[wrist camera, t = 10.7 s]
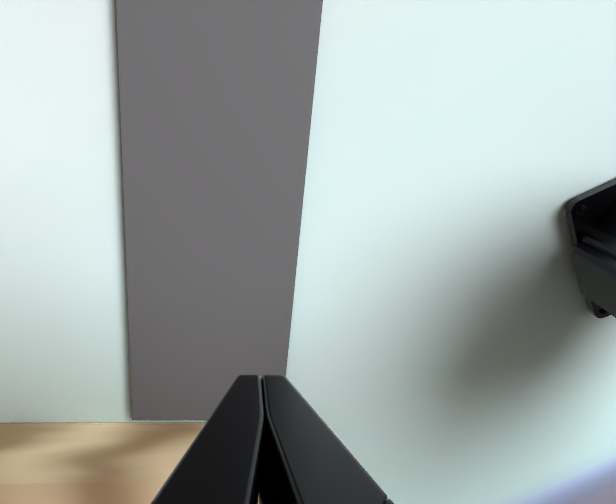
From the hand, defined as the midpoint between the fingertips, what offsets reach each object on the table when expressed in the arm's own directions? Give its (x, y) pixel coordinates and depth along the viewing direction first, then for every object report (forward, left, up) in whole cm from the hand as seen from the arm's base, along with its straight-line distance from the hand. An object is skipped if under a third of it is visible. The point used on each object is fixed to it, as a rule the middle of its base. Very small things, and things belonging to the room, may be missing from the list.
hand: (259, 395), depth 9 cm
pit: (+1, -1, -12) cm, 12 cm away
